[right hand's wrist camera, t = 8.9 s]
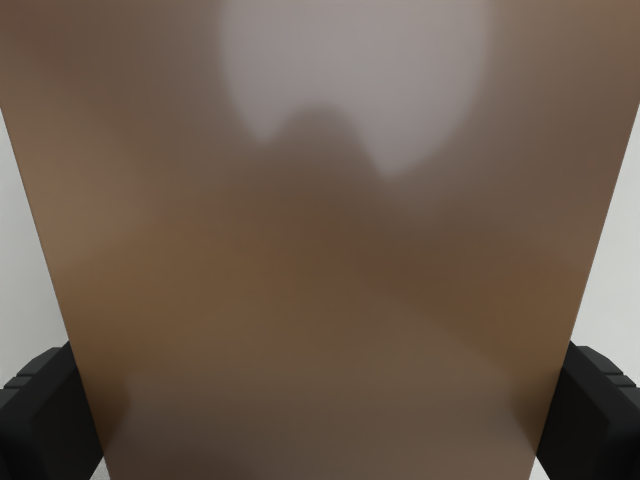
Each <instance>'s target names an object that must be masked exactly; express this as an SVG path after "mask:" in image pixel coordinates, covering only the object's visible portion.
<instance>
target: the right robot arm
mask: <svg viewBox="0 0 640 480" xmlns="http://www.w3.org/2000/svg"><path fill="white" fill-rule="evenodd" d="M536 457H537V459H538V460H539V462H540V464H541V465H542V467H543V469H544V470H545V472H546V474H547V475H548V477H549V479H550V480H640V388H637V387H636V384H635V383H634V382H633V381H632V380H631V379H630V378H629V377H627V376H626V375H623V372H622V371H621V370H620V369H619V368H618V367H617V366H616V365H615V364H614V363H612V362H611V361H610V360H609V359H608V358H607V357H605V356H603V355H601V354H600V353H598V352H596V351H595V350H593V349H591V348H590V347H588V346H576V345H575V344H574V343H573V342H572V341H571V340H570V342H569V345H568V348H567V352H566V355H565V359H564V362H563V365H562V368H561V372H560V375H559V379H558V382H557V385H556V389H555V392H554V396H553V399H552V402H551V406H550V409H549V413H548V416H547V419H546V423H545V426H544V430H543V433H542V436H541V440H540V443H539V447H538V450H537V453H536ZM102 458H103V453H102V449H101V446H100V443H99V439H98V436H97V432H96V429H95V426H94V422H93V419H92V415H91V412H90V409H89V405H88V402H87V398H86V395H85V392H84V388H83V385H82V382H81V378H80V375H79V371H78V368H77V365H76V362H75V358H74V355H73V351H72V348H71V345H70V341H68V342H67V343H66V344H65V345H64V346H63V347H53V348H51V349H49V350H47V351H46V352H44V353H42V354H41V355H39V356H37V357H36V358H34V359H32V360H31V361H30V362H29V363H28V364H27V365H26V366H25V367H24V368H22V369H21V370H20V371H19V372H18V373H17V376H16V377H13V378H12V379H11V380H10V381H9V382H8V383H6V384H5V385H4V388H3V389H0V480H90V478H91V476H92V475H93V473H94V471H95V470H96V468H97V466H98V464H99V463H100V461H101V459H102Z"/></svg>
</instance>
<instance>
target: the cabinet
mask: <svg viewBox="0 0 640 480" xmlns="http://www.w3.org/2000/svg"><path fill="white" fill-rule="evenodd" d="M639 104H640V0H0V108H1V111H2V115H3V118H4V121H5V125H6V128H7V131H8V135H9V138H10V142H11V145H12V148H13V152H14V155H15V159H16V162H17V165H18V169H19V172H20V175H21V179H22V182H23V186H24V189H25V192H26V196H27V199H28V203H29V206H30V209H31V213H32V216H33V219H34V223H35V226H36V230H37V233H38V236H39V240H40V243H41V247H42V250H43V253H44V257H45V260H46V263H47V267H48V270H49V274H50V277H51V280H52V284H53V287H54V291H55V294H56V297H57V301H58V304H59V307H60V311H61V314H62V318H63V321H64V324H65V328H66V331H67V335H68V338H69V341H70V345H71V348H72V351H73V355H74V358H75V362H76V365H77V368H78V371H79V375H80V378H81V382H82V385H83V388H84V392H85V395H86V398H87V402H88V405H89V409H90V412H91V415H92V419H93V422H94V426H95V429H96V432H97V436H98V439H99V443H100V446H101V449H102V453H103V456H104V460H105V463H106V467H107V470H108V473H109V477H110V480H529V477H530V474H531V471H532V467H533V464H534V460H535V457H536V453H537V450H538V447H539V443H540V440H541V436H542V433H543V430H544V426H545V423H546V419H547V416H548V413H549V409H550V406H551V402H552V399H553V396H554V392H555V389H556V385H557V382H558V379H559V375H560V372H561V368H562V365H563V362H564V359H565V355H566V352H567V348H568V345H569V342H570V338H571V335H572V331H573V328H574V325H575V321H576V318H577V314H578V311H579V308H580V304H581V301H582V297H583V294H584V291H585V287H586V284H587V280H588V277H589V274H590V270H591V267H592V263H593V260H594V257H595V253H596V250H597V246H598V243H599V240H600V236H601V233H602V229H603V226H604V223H605V219H606V216H607V213H608V209H609V206H610V202H611V199H612V196H613V192H614V189H615V185H616V182H617V179H618V175H619V172H620V168H621V165H622V162H623V158H624V155H625V151H626V148H627V145H628V141H629V138H630V134H631V131H632V128H633V124H634V121H635V117H636V114H637V111H638V107H639Z"/></svg>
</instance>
